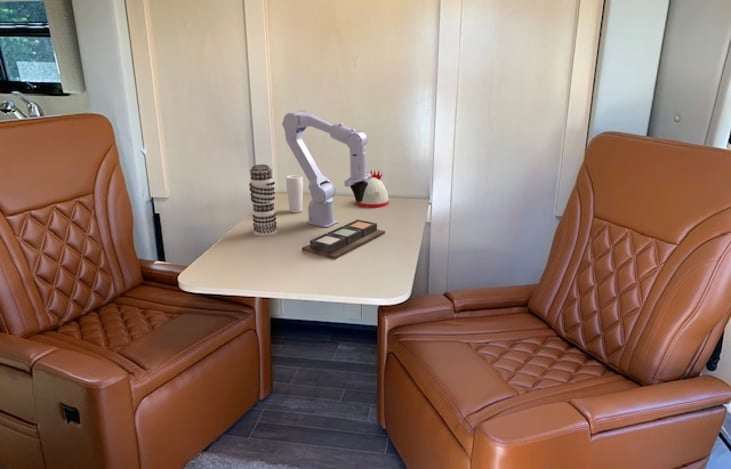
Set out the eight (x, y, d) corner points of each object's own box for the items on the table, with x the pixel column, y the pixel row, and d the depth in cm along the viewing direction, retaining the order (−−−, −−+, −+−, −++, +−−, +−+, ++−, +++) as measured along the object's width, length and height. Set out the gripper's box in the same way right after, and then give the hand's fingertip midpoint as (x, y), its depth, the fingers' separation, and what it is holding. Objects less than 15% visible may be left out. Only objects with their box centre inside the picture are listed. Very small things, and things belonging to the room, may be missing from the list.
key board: (302, 250, 176) (301, 240, 175) (353, 226, 199) (353, 217, 198) (334, 259, 168) (334, 248, 167) (384, 233, 192) (384, 223, 190)
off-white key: (314, 246, 175) (314, 241, 175) (326, 241, 180) (326, 235, 180) (329, 250, 172) (329, 244, 171) (341, 244, 177) (341, 239, 176)
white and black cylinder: (273, 226, 200) (269, 162, 192) (281, 233, 192) (277, 166, 184) (250, 230, 196) (244, 164, 188) (257, 237, 188) (251, 169, 180)
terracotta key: (348, 231, 190) (348, 226, 189) (358, 226, 195) (358, 221, 194) (362, 234, 187) (362, 229, 186) (372, 229, 191) (372, 224, 191)
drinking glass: (307, 210, 220) (306, 175, 215) (297, 214, 214) (295, 179, 209) (295, 208, 223) (293, 173, 218) (284, 212, 218) (282, 177, 213)
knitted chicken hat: (388, 208, 223) (388, 173, 218) (356, 207, 223) (355, 173, 218) (388, 199, 236) (388, 166, 231) (358, 199, 237) (357, 166, 232)
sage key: (332, 238, 183) (332, 233, 182) (343, 233, 188) (343, 228, 187) (347, 242, 179) (347, 236, 178) (357, 236, 184) (357, 231, 183)
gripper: (355, 170, 182) (356, 207, 187) (378, 162, 194) (378, 198, 198) (339, 168, 186) (340, 205, 191) (362, 161, 197) (363, 196, 202)
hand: (359, 201), depth 195 cm, fingers closed
